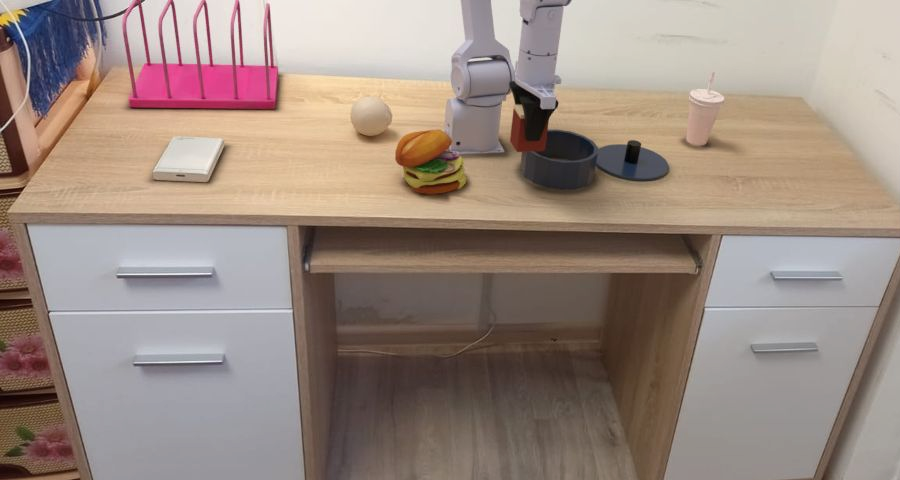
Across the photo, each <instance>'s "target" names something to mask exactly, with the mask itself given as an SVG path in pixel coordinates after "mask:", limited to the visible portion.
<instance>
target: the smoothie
mask: <svg viewBox="0 0 900 480" xmlns="http://www.w3.org/2000/svg"><path fill="white" fill-rule="evenodd" d="M715 73H716V71H715V70H712V71H711V74H710V78H709V81H708V84H707V85H708V86H707V88H695V89H692V90H690V92H689V95H688V100H689V106H688V117H687V126H686V135H685V136H686V137H685V141H686V142H687V143H689V144H690V145H693V146H705V145H706V144H707V143H708V140H709V138H710V135H711V132H712V129H713V127H714V124H715V122H716V120H717V117H718V114H719V112H720V109H721V107H722V106H724V104H725V96H724V95H723V94H721V93H720V92H717V91H716V90H712V86H713V81H714V77H715Z"/></svg>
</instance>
